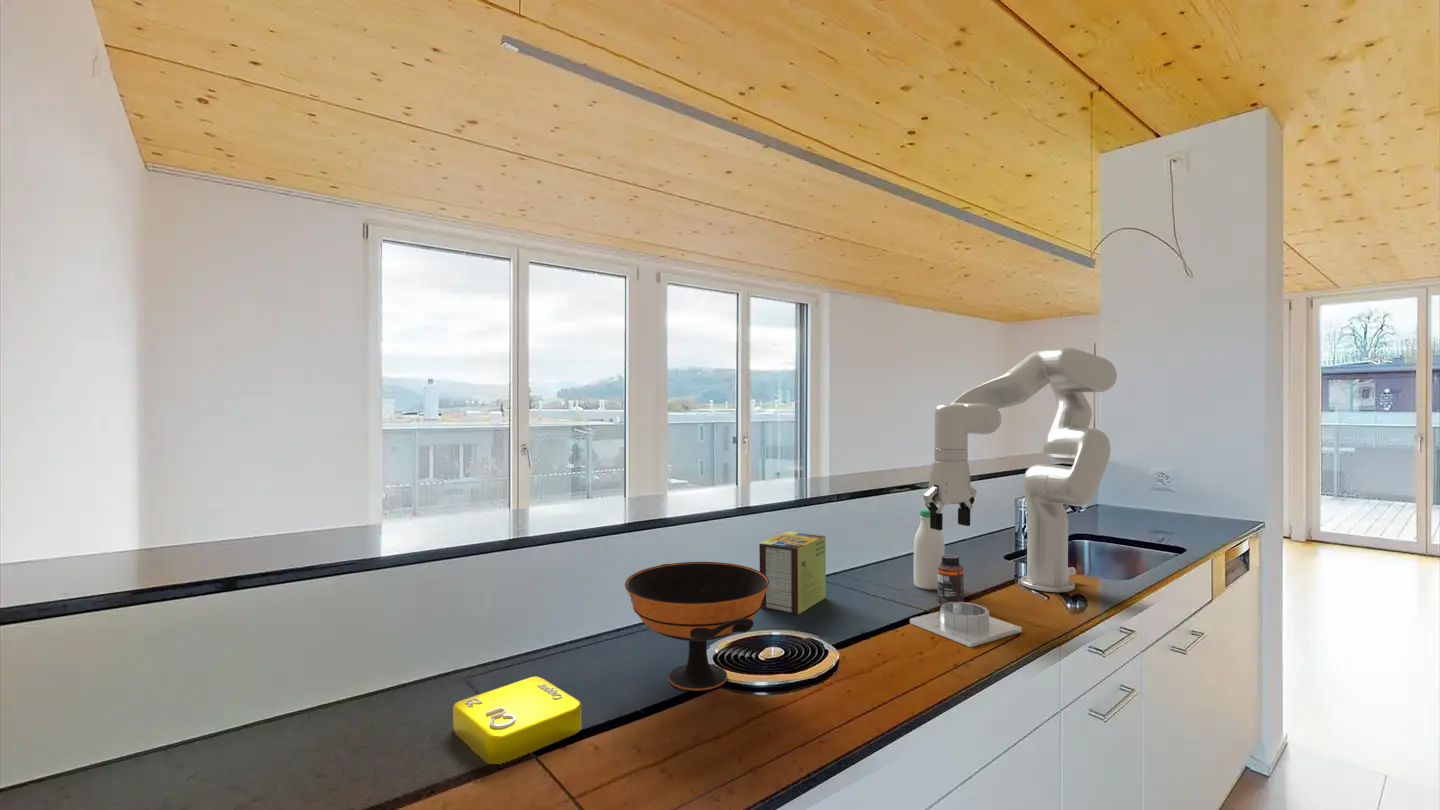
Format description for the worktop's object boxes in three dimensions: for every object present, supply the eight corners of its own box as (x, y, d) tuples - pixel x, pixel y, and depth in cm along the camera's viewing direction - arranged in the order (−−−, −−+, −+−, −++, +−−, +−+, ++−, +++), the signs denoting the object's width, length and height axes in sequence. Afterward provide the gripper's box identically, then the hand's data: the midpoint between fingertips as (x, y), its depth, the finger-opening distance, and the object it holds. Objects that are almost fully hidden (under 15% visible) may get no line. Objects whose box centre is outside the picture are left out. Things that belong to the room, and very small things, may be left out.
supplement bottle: (960, 598, 162) (960, 552, 162) (966, 606, 156) (966, 559, 156) (935, 598, 163) (935, 552, 163) (940, 606, 157) (940, 558, 157)
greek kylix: (812, 708, 107) (812, 599, 107) (661, 742, 97) (660, 622, 97) (722, 633, 140) (722, 550, 140) (603, 653, 130) (602, 563, 130)
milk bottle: (948, 590, 169) (948, 512, 169) (918, 590, 169) (918, 512, 169) (939, 581, 177) (939, 506, 176) (910, 581, 177) (910, 507, 177)
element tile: (586, 732, 101) (586, 700, 101) (492, 771, 91) (492, 737, 91) (538, 699, 112) (537, 671, 112) (448, 731, 102) (448, 700, 101)
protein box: (826, 597, 164) (826, 535, 164) (798, 615, 151) (798, 548, 151) (788, 590, 170) (788, 530, 169) (758, 607, 157) (758, 542, 157)
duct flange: (959, 610, 154) (959, 593, 154) (1021, 631, 140) (1021, 613, 140) (909, 623, 146) (909, 605, 146) (970, 647, 132) (970, 627, 132)
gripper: (962, 453, 166) (961, 521, 167) (913, 456, 158) (912, 528, 158) (988, 455, 160) (987, 526, 160) (938, 459, 151) (937, 534, 152)
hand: (950, 527), depth 159 cm, fingers open, 9 cm apart
